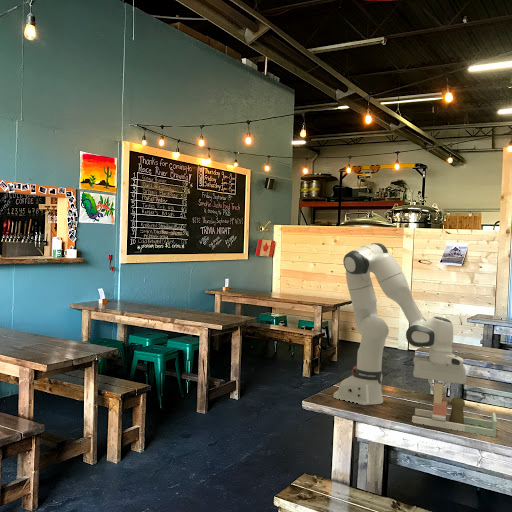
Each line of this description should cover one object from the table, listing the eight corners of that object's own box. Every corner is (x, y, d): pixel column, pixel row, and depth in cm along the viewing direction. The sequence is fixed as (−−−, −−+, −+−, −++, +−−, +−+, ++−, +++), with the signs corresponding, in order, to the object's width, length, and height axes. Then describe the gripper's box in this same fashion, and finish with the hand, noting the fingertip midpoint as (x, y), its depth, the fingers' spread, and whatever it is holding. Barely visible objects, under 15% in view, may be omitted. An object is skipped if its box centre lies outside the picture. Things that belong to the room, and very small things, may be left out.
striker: (431, 425, 198) (433, 386, 198) (433, 415, 210) (436, 379, 210) (445, 427, 196) (447, 388, 196) (446, 417, 208) (448, 380, 208)
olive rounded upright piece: (446, 425, 200) (447, 398, 200) (451, 422, 205) (453, 395, 204) (461, 429, 196) (463, 401, 196) (466, 426, 201) (468, 398, 200)
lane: (412, 422, 201) (412, 407, 201) (415, 414, 212) (415, 400, 212) (495, 437, 189) (496, 421, 189) (494, 427, 200) (495, 412, 200)
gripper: (412, 355, 204) (410, 389, 204) (467, 362, 196) (465, 397, 196) (414, 352, 210) (412, 385, 210) (467, 359, 202) (465, 393, 202)
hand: (438, 391), depth 203 cm, fingers closed on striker, 3 cm apart
